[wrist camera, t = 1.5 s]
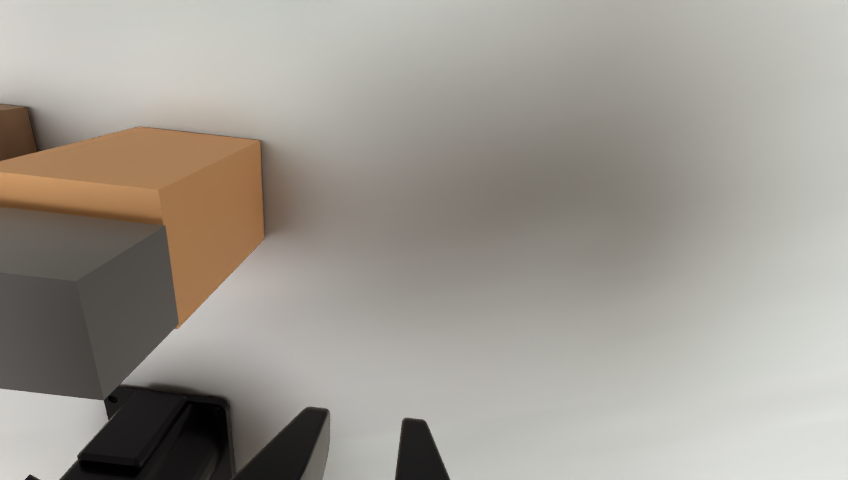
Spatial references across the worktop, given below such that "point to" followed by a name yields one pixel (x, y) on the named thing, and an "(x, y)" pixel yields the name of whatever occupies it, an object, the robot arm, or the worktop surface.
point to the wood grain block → (15, 132)
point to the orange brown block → (155, 196)
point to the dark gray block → (80, 301)
